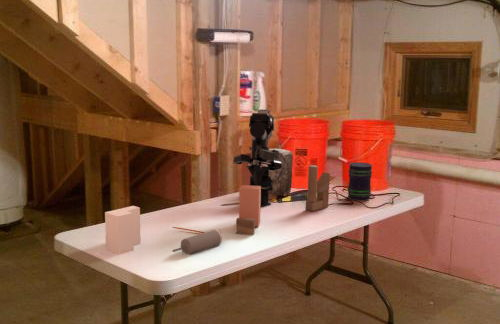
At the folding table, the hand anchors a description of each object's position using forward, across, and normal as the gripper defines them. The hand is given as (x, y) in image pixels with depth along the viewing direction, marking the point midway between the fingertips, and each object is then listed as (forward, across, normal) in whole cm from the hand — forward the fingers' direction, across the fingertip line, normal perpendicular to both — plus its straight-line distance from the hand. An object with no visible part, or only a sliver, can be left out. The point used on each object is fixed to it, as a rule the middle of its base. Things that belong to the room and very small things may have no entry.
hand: (257, 184), depth 203 cm
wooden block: (+6, +30, +1) cm, 31 cm away
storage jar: (-2, +57, +5) cm, 57 cm away
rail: (+16, -5, -3) cm, 17 cm away
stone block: (-3, +30, +28) cm, 41 cm away
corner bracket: (+27, -50, 0) cm, 57 cm away
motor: (+25, -32, -6) cm, 41 cm away
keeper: (+16, -4, -3) cm, 16 cm away
